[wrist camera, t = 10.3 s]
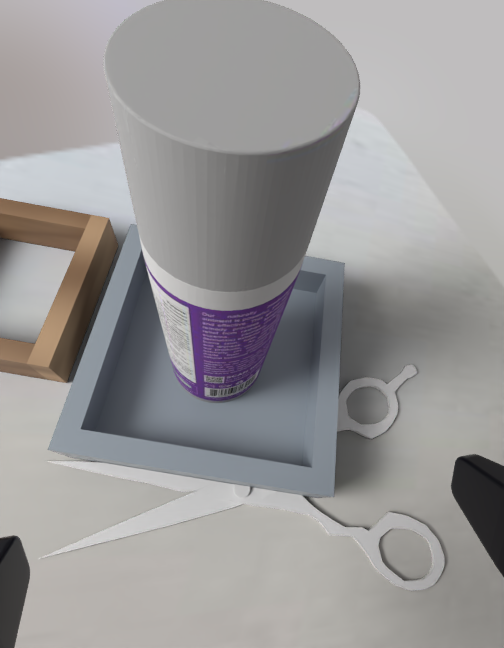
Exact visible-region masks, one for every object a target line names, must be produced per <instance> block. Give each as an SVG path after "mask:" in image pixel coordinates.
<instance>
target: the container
mask: <svg viewBox="0 0 504 648" xmlns="http://www.w3.org/2000/svg"><path fill="white" fill-rule="evenodd" d="M103 64H104V73H105V78H106V82H107V87H108V92H109V97H110V101H111V106H112V110H113V115H114V120H115V124H116V129H117V134H118V139H119V143H120V148H121V153H122V157H123V162H124V167H125V171H126V176H127V181H128V186H129V190H130V195H131V200H132V204H133V209H134V214H135V218H136V223H137V228H138V232H139V237H140V242H141V247H142V252H143V256H144V260H145V264H146V268H147V272H148V275H149V279H150V283H151V287H152V291H153V294H154V298H155V302H156V306H157V310H158V314H159V317H160V321H161V325H162V329H163V333H164V336H165V340H166V344H167V348H168V352H169V356H170V359H171V363H172V367H173V371H174V374H175V376H176V379H177V380H178V382H179V384H180V385H181V387H182V388H183V389H184V390H185V391H186V392H187V393H189V394H190V395H191V396H193V397H194V398H197V399H199V400H201V401H205V402H209V403H224V402H229V401H232V400H234V399H237V398H239V397H240V396H242V395H243V394H245V393H246V392H247V391H248V390H249V389H250V388H251V387H252V386H253V384H254V383H255V381H256V379H257V377H258V375H259V373H260V371H261V368H262V366H263V363H264V361H265V358H266V355H267V353H268V350H269V348H270V345H271V343H272V340H273V338H274V335H275V333H276V330H277V328H278V325H279V323H280V320H281V318H282V315H283V313H284V310H285V308H286V305H287V303H288V300H289V297H290V295H291V292H292V290H293V287H294V285H295V282H296V280H297V277H298V275H299V272H300V270H301V267H302V264H303V260H304V257H305V254H306V251H307V248H308V245H309V243H310V240H311V237H312V234H313V231H314V228H315V225H316V222H317V219H318V216H319V214H320V211H321V208H322V205H323V202H324V199H325V196H326V193H327V190H328V187H329V184H330V182H331V179H332V176H333V173H334V170H335V167H336V164H337V161H338V158H339V155H340V153H341V150H342V147H343V144H344V141H345V138H346V135H347V132H348V129H349V126H350V123H351V121H352V118H353V115H354V112H355V109H356V106H357V103H358V99H359V95H360V80H359V74H358V71H357V68H356V65H355V63H354V61H353V59H352V57H351V55H350V54H349V53H348V51H347V50H346V49H345V47H344V46H343V45H342V43H340V41H339V40H338V39H337V38H336V37H335V36H334V35H332V34H331V33H330V32H329V31H327V30H326V29H325V28H323V27H322V26H320V25H319V24H318V23H316V22H315V21H313V20H311V19H310V18H308V17H306V16H304V15H302V14H300V13H298V12H296V11H293V10H291V9H289V8H286V7H283V6H280V5H278V4H274V3H271V2H268V1H264V0H164V1H160V2H157V3H154V4H152V5H149V6H147V7H145V8H143V9H141V10H139V11H137V12H136V13H134V14H132V15H131V16H130V17H128V18H127V19H125V20H124V21H123V22H122V23H121V24H120V25H119V26H118V27H117V28H116V30H115V31H114V32H113V34H112V35H111V37H110V39H109V41H108V43H107V46H106V48H105V54H104V62H103Z"/></svg>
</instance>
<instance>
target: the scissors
mask: <svg viewBox="0 0 504 648" xmlns="http://www.w3.org/2000/svg"><path fill="white" fill-rule="evenodd" d="M415 374H417V370H416V368H415V367H414V366H413V365H406V366H405V367H404V369H403V370H402V372H401V373H400V374H399V375H398V376H397V377H395V378H394V379H392V380H391V381H390V382H389V383H388V384H386V383H385V382H384V381H383V380H382V379H376V378H369V377H363V378H359V379H355V380H351V381H350V382H349V383H348V384H347V385H346V386H345V387H344V388H343V390H342V391H341V392H340V394H339V397H338V419H337V432H339V431H345V430H350V431H353V432H356V433H358V434H360V435H362V436H364V437H366V438H368V439H372V438H374V437H376V436H378V435H380V434H382V433H384V432H385V431H387V429H388V428H389V427H390V426H391V424H392V423H393V421H394V419H395V417H396V415H397V413H398V402H397V398H396V394H395V391H396V390H397V389H398V387H399V386H400V385H401V384H402V383H403V382H404V381H405V380H406V379H409V378H411V377H412V376H414V375H415ZM363 387H375V388H376V389H378V390H379V391H381V392H382V393H383V394H384V395H385V396H386V398H387V402H388V407H389V409H388V414H387V415H386V417H385V418H384V419H383V420H382V421H381V422H379V423H375V424H359V423H358V422H356V421H355V420H353V419H352V418H350V417H349V415H348V409H347V403H346V400H347V399H348V397H349V395H350V394H351V393H352V392H353V391H354V390H356V389H358V388H363ZM46 462H51V463H55V464H60V465H64V466H68V467H73V468H77V469H82V470H86V471H90V472H95V473H99V474H104V475H108V476H113V477H117V478H122V479H127V480H132V481H137V482H143V483H148V484H152V485H156V486H160V487H164V488H168V489H172V490H176V491H180V492H190V491H195V492H193V493H190V494H188V495H185V496H183V497H181V498H178V499H176V500H173V501H171V502H168V503H166V504H164V505H161V506H159V507H156V508H154V509H152V510H149V511H147V512H144V513H142V514H140V515H137V516H135V517H133V518H130V519H128V520H126V521H123V522H121V523H119V524H117V525H114V526H112V527H110V528H107V529H105V530H103V531H101V532H98V533H96V534H94V535H91V536H89V537H87V538H85V539H82V540H80V541H78V542H75V543H73V544H71V545H68V546H66V547H64V548H62V549H59V550H57V551H55V552H52V553H50V554H48V555H46V556H43V557H41V558H44V557H48V556H52V555H56V554H60V553H63V552H67V551H71V550H75V549H79V548H83V547H87V546H91V545H95V544H99V543H103V542H107V541H111V540H115V539H119V538H123V537H127V536H130V535H134V534H138V533H142V532H146V531H150V530H154V529H158V528H162V527H166V526H170V525H174V524H177V523H181V522H184V521H188V520H191V519H195V518H198V517H202V516H205V515H209V514H212V513H216V512H219V511H223V510H226V509H230V508H233V507H236V506H239V505H242V504H247V505H251V506H258V507H266V508H274V509H282V510H286V511H291V512H295V513H299V514H305V515H309V516H311V517H312V518H314V519H315V520H317V521H318V522H320V524H321V525H322V526H323V528H324V529H325V531H326V532H327V533H328V535H335V536H352V537H353V538H354V539H355V540H356V542H357V543H358V544H359V545H360V547H361V548H362V549H363V551H364V552H365V553H366V555H367V556H368V558H369V560H370V562H371V563H372V565H373V567H374V568H375V569H376V570H377V571H378V572H379V573H380V574H381V575H382V576H384V577H385V578H386V579H387V580H389V581H390V582H391V583H393V584H394V585H396V586H398V587H401V588H404V589H407V590H410V591H414V590H424V589H427V588H429V587H431V586H432V585H434V584H435V583H436V581H437V580H438V578H439V577H440V576H441V573H442V571H443V568H444V566H445V564H444V554H443V551H442V548H441V545H440V542H439V540H438V539H437V538H436V537H435V535H434V534H433V533H432V532H431V531H430V529H429V528H428V527H427V526H426V525H425V524H423V523H421V522H419V521H417V520H415V519H413V518H411V517H409V516H407V515H402V514H397V513H392V512H387V513H386V514H385V515H384V516H383V517H382V518H381V519H379V520H378V521H377V522H376V523H375V524H374V525H373V526H372V527H371V528H370V529H369V530H366V529H364V528H363V527H344V526H342V525H341V524H339V523H337V522H335V521H334V520H332V519H330V518H329V517H327V516H326V515H324V514H323V513H322V512H320V511H319V510H318V509H316V508H315V507H314V506H312V505H311V504H310V503H309V502H308V501H307V500H306V499H305V498H304V497H303V496H302V495H297V494H291V493H285V492H279V491H273V490H267V489H260V488H254V487H249V486H243V485H237V484H229V483H223V482H217V481H211V480H205V479H198V478H192V477H186V476H180V475H174V474H168V473H162V472H156V471H150V470H144V469H138V468H132V467H126V466H120V465H114V464H108V463H99V462H84V461H46ZM391 528H396V529H409V530H412V531H414V532H415V533H417V534H419V535H420V536H422V537H424V538H425V539H426V541H427V542H428V544H429V547H430V551H431V555H432V566H431V569H430V571H429V573H428V574H426V575H425V576H424V577H423V578H422V579H417V580H402V579H401V578H400V577H398V576H397V575H396V574H395V573H393V572H392V571H391V570H389V569H388V568H387V567H386V565H385V564H384V563H383V562H382V558H381V554H380V550H379V547H378V545H379V541H380V537H381V536H383V535H384V534H385V533H386V532H387V531H389V530H390V529H391ZM39 559H40V558H39Z"/></svg>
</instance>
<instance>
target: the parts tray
mask: <svg viewBox="0 0 504 648" xmlns="http://www.w3.org/2000/svg"><path fill="white" fill-rule="evenodd" d="M344 266H345V263H341V262H336V261H331V260H325V259H320V258H314V257H309V256H305V257H304V260H303V264H302V267H301V270H300V272H299V275H298V277H297V280H296V282H295V285H294V287H293V290H292V292H291V295H290V297H289V300H288V303H287V305H286V308H285V310H284V313H283V315H282V318H281V320H280V323H279V325H278V328H277V330H276V333H275V335H274V338H273V340H272V343H271V345H270V348H269V350H268V353H267V355H266V358H265V361H264V363H263V366H262V368H261V371H260V373H259V375H258V377H257V379H256V381H255V383H254V384H253V386H252V387H251V388H250V389H249V390H248V391H247V392H246V393H245V394H243V395H242V396H240V397H239V398H237V399H234V400H232V401H229V402H224V403H209V402H205V401H201V400H199V399H197V398H194V397H193V396H191V395H190V394H189V393H187V392H186V391H185V390H184V389H183V388H182V387H181V385H180V384H179V382H178V380H177V379H176V376H175V374H174V371H173V367H172V363H171V359H170V356H169V352H168V348H167V344H166V340H165V336H164V333H163V329H162V325H161V321H160V317H159V314H158V310H157V306H156V302H155V298H154V294H153V291H152V287H151V283H150V279H149V275H148V272H147V268H146V264H145V260H144V256H143V252H142V247H141V242H140V237H139V232H138V228H137V225H134V224H131V226H130V228H129V231H128V234H127V236H126V239H125V242H124V244H123V247H122V250H121V253H120V255H119V258H118V261H117V263H116V266H115V269H114V272H113V274H112V277H111V280H110V282H109V285H108V288H107V291H106V293H105V296H104V299H103V301H102V304H101V307H100V310H99V312H98V315H97V318H96V320H95V323H94V326H93V328H92V331H91V334H90V337H89V339H88V342H87V345H86V347H85V350H84V353H83V356H82V358H81V361H80V364H79V366H78V369H77V372H76V375H75V377H74V380H73V383H72V385H71V388H70V391H69V394H68V396H67V399H66V402H65V404H64V407H63V410H62V413H61V415H60V418H59V421H58V423H57V426H56V429H55V431H54V434H53V437H52V440H51V442H50V445H49V448H48V450H50V451H53V452H56V453H59V454H62V455H65V456H68V457H71V458H77V459H83V460H89V461H95V462H101V463H108V464H114V465H120V466H126V467H132V468H138V469H144V470H150V471H156V472H162V473H168V474H174V475H180V476H186V477H192V478H198V479H205V480H211V481H217V482H223V483H229V484H237V485H243V486H249V487H254V488H260V489H267V490H273V491H279V492H285V493H291V494H297V495H302V496H308V497H314V498H322V497H334V484H335V463H336V441H337V419H338V397H339V375H340V353H341V331H342V309H343V287H344Z"/></svg>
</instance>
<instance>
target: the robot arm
mask: <svg viewBox="0 0 504 648" xmlns="http://www.w3.org/2000/svg"><path fill="white" fill-rule="evenodd" d="M451 489H452V493H453V496H454V498H455V500H456V501H457V503H458V505H459V506H460V508H461V510H462V511H463V513H464V515H465V516H466V518H467V519H468V521H469V523H470V524H471V526H472V528H473V529H474V531H475V533H476V534H477V536H478V538H479V539H480V541H481V543H482V544H483V546H484V548H485V549H486V551H487V553H488V554H489V556H490V557H491V559H492V560H493V562H494V564H495V565H496V567H497V568H498V570H499V571H500V572H501V574H502V575H503V577H504V466H502V465H500V464H498V463H495V462H493V461H491V460H489V459H486V458H484V457H482V456H479V455H476V454H472V455H466V456H461V457H458V458H457V460H456V462H455V467H454V472H453V478H452V483H451ZM29 579H30V567H29V563H28V560H27V558H26V555H25V552H24V549H23V546H22V543H21V540H20V538H19V537H17V536H8V537H2V538H0V648H14V647H15V642H16V638H17V633H18V629H19V624H20V620H21V615H22V611H23V606H24V602H25V597H26V593H27V589H28V584H29Z"/></svg>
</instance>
